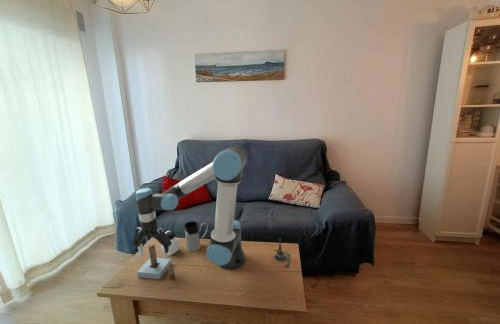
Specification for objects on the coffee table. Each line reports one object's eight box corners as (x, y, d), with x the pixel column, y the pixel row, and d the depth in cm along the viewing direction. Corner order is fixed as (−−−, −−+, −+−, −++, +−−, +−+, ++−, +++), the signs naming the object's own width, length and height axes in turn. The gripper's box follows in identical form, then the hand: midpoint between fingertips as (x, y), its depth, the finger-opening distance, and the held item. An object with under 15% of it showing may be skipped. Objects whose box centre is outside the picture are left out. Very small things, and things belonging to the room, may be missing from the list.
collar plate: (171, 263, 129) (170, 258, 128) (160, 279, 117) (159, 273, 117) (151, 262, 131) (150, 257, 130) (138, 277, 119) (137, 272, 119)
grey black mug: (184, 245, 145) (181, 223, 142) (206, 238, 152) (204, 217, 148) (187, 252, 138) (185, 229, 134) (211, 245, 144) (209, 223, 141)
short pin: (175, 275, 120) (174, 264, 118) (172, 279, 117) (171, 268, 115) (170, 274, 120) (168, 264, 119) (167, 279, 117) (165, 268, 116)
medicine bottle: (179, 249, 141) (177, 231, 139) (170, 256, 136) (167, 237, 133) (171, 246, 145) (169, 228, 142) (162, 252, 139) (159, 233, 137)
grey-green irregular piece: (289, 269, 122) (289, 246, 119) (269, 267, 124) (269, 244, 121) (291, 252, 136) (291, 231, 133) (273, 250, 138) (273, 229, 135)
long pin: (159, 268, 125) (156, 244, 122) (156, 272, 122) (152, 248, 119) (154, 268, 126) (150, 244, 123) (151, 271, 123) (147, 247, 120)
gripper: (175, 216, 119) (180, 253, 124) (130, 215, 123) (136, 251, 128) (167, 223, 112) (173, 263, 117) (120, 222, 116) (127, 260, 121)
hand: (154, 257), depth 122 cm, fingers open, 13 cm apart
